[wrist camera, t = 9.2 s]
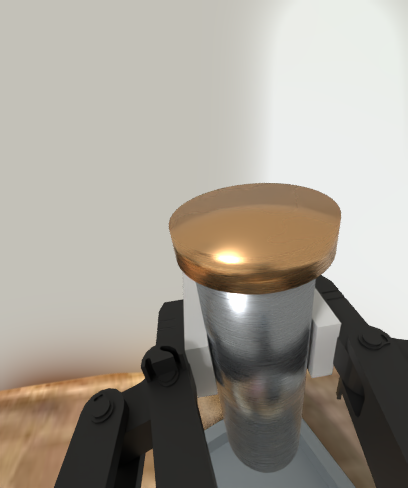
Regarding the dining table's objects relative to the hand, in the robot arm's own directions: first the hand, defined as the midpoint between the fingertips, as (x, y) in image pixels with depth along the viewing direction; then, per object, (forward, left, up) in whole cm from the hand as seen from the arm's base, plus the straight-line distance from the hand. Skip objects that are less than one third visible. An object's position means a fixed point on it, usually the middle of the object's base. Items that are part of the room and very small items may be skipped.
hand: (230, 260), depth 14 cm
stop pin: (+5, -2, -7) cm, 9 cm away
